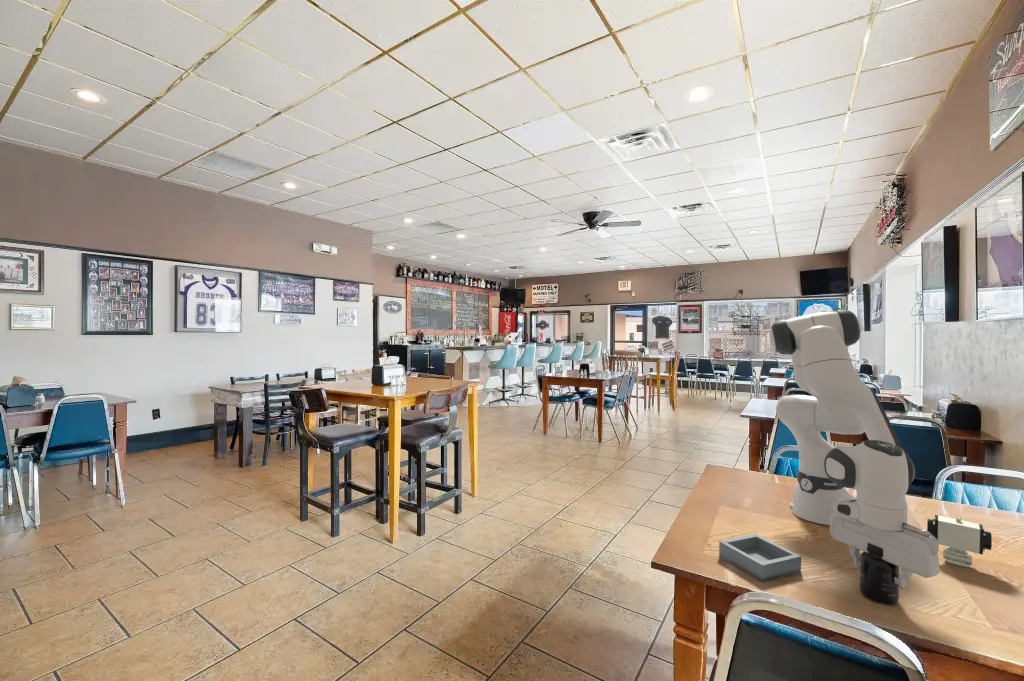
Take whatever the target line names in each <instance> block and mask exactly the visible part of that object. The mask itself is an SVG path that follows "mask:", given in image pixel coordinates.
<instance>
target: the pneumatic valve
mask: <svg viewBox="0 0 1024 681" xmlns="http://www.w3.org/2000/svg"><path fill="white" fill-rule="evenodd" d="M926 531H928V532H930V534H931V535H933V536H934V537H935V538H936V539H937V540H938V543H939V545H941V546H945V548H944V549H942V553H943V555H942V558H943V559H944V560H945V561H946V563H948V564H949V565H954V566H958V567H961V566H962V567H961V568H965V567H966V568H969V567H968V566H972V565H973V556H972V555H969V554H968V552H970V553H975V554H978V555H983V556H984V552H985V551H986V550H988V551H992V543H993V541H992V540H993V539H992V537H993V536H992V532H991V531H986V530H985V528H984V527H983V524H981V523H976V522H971V521H967V520H963V519H962V518H961V517H955V518H952V517H946V516H944V515H943V516H942V515H937V514H934V517H933V518H932V519H930V518H927V529H926Z"/></svg>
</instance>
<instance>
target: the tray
mask: <svg viewBox="0 0 1024 681" xmlns="http://www.w3.org/2000/svg"><path fill="white" fill-rule="evenodd" d="M718 543H719V544H718V545H719V547H718V548H719V550H718V556H720V557H719V558H720V559H723V560H725V561H726V562H728V563H730V564H731V565H733V566H734V567H737V568H738V569H740V570H741V569H742V570H741V571H743V572H744V573H746V572H747V574H748V573H749V574H748V575H749V576H751V577H753V578H755V579H756V580H757V581H760V582H761V583H764V582H767V581H771V580H776V579H779V578H784V577H788V576H791V575H796V574H800V573H802V556H801V555H800V554H797V553H796V552H794V551H791V550H789V549H787V548H785V547H783V546H781V545H779V544H776V543H775V542H773V541H770V540H768V539H766V538H765V537H762V536H760V535H758V534H755V533H754V534H750V535H744V536H740V537H734V538H730V539H725V540H720V541H719V542H718Z"/></svg>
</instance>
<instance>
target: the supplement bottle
mask: <svg viewBox="0 0 1024 681" xmlns="http://www.w3.org/2000/svg"><path fill="white" fill-rule="evenodd" d="M866 550H867V551H868V553H866V552H863V551H862V553H860V555H861V558H860V568H859V574H860V575H859V590H860V592H861V594H862V595H863V596H864V597H865V598H866V599H867V598H868V599H869V600H871V601H872V602H875V603H879V604H883V605H889V606H890V605H896V604H897V603H898V602H899V598H900V597H899V596H900V587H899V586H897V585H895V584H894V582H895V580H894V577H896V576H899V575H900V567H899V566H896V565H894V564H892V563H889V562H887V561H885V560H883V559H882V557H883V556H884V555H883V549H882V548H880V547H878V546H875V545H873V544H870V543H868V544H867V548H866Z"/></svg>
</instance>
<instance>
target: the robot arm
mask: <svg viewBox="0 0 1024 681" xmlns="http://www.w3.org/2000/svg"><path fill="white" fill-rule="evenodd" d="M861 333H862V326H861V322H860V320H859V318H858V317H857V315H856V314H855V313H854V312H852V311H851V310H848V309H847V310H846V309H837V310H835V311H824V312H823V311H822V312H813V313H809V314H806V315H799V316H794V317H792V318H789V319H780V320H778V321H776V322H774V323H773V324H772V325H771V327H770V332H769V341H770V342H769V343H770V344H771V346H772V348H773V349H774V350H775V352H777V353H779V354H780V355H787V356H791V362H792V369H793V374H794V380H795V383H796V385H797V387H799V388H800V389H801V390H802V391H804V392H806V393H808V395H806V394H805V395H804V394H790V395H783V396H781V398H780V399H779V400H778V401H777V404H776V408H775V412H776V416H777V417H778V420H779V421H780V422H781V423H782V424H783V425H785V426H786V427H787V429H789V431H790V432H791V433H792V435H793V437H794V439H795V441H796V443H797V448H798V462H799V463H798V464H799V465H798V469H797V473H796V480H797V482H796V484H795V485H794V491H793V497H792V502H790V503H789V507H790V508H791V512H792V513H793V515H795V516H796V517H798V518H800V519H803V520H805V521H808V522H811V523H816V524H821V525H826V526H829V534H830V535H831V537H832V539H833V540H836V541H837V542H841V543H843V544H845V545H847V546H848V551H849V552H850V554H851V557H852V558H853V566H854V567H856V568H858V569H860V558H861V553H860V551H861V552H862V553H863V552H866V553H868V551H867V550H866V548H867V544H868V543H870V544H873V545H875V546H878V547H880V548H882V549H883V555H884V556H883V557H882V559H883V560H885V561H887V562H889V563H892V564H894V565H896V566H899V572H900V573H902V574H901V575H900V574H899V576H896V577H894V580H895V582H894V584H895V585H897V586H899V588H902V589H904V588H907V586H908V580H909V578H911V577H912V576H913V575H914V574H916V575H918V576H920V577H923V578H925V579H928V578H929V579H930V578H932V577H935V576H937V575H939V574H940V559H939V554H938V553H939V550H940V549H939V547H940V546H939V545H940V544H939V543H938V540H937V539H936V538H935V537H934V536H933V535H931V534H930V532H928V531H927V529H923V528H918V527H916V526H914V525H911V524H909V523H908V502H907V499H906V494H907V492H908V490H909V486H911V484H912V483H913V482H914V479H915V475H916V468H915V465H914V462H913V460H912V459H911V458H910V456H909V455H908V453H907V452H906V450H905V449H904V448H903V446H902V444H901V442H900V440H899V438H898V436H897V434H896V432H895V430H894V427H893V425H892V423H891V421H890V419H889V417H888V414H887V413H886V411H885V409H884V407H883V404H882V403H881V401H880V399H879V397H878V395H877V394H876V392H875V391H874V390H873V389H872V387H871V386H869V385H867V384H866V383H865V382H864V381H863V380H862V379H861V377H860V376H859V374H858V373H857V371H856V370H855V367H854V365H853V360H852V358H851V355H850V352H849V350H848V347H849V346H852V345H855V344H857V343H858V341H859V340H860V339H861V338H860V337H861ZM809 394H810V395H809ZM821 432H824V433H825V432H826V433H831V434H839V435H862V434H864V433H865V435H866V437H867V440H863V441H861V442H860V443H859V444H857V445H853V446H843V447H836V446H835V445H833V444H832V443H830V442H828V441H827V440H826V439H825V438H824V437H823V435H822V434H821ZM847 489H853V490H855V491H856V492H857V495H856V497H855V495H853V494H852V493H851V492H850V491H848V490H847Z"/></svg>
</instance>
